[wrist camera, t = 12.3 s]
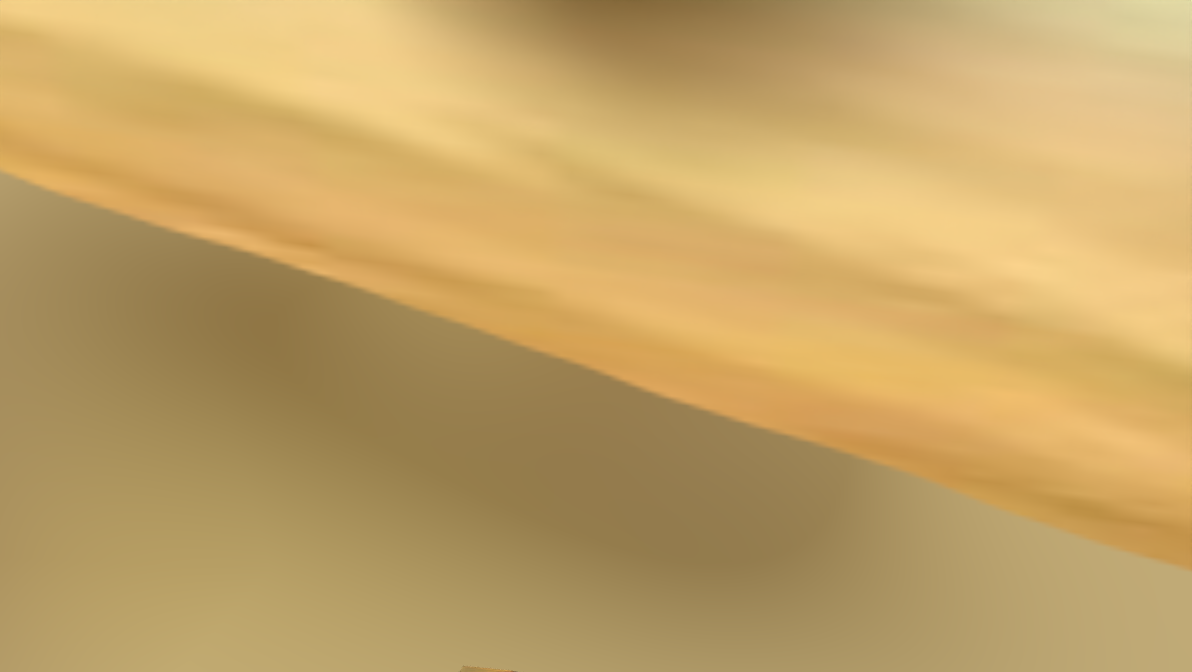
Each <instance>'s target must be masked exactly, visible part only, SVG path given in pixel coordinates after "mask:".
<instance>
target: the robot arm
mask: <svg viewBox="0 0 1192 672" xmlns="http://www.w3.org/2000/svg"><path fill="white" fill-rule="evenodd" d="M460 672H516V671H510V670H500V669H490V668H480V667H470V666H463V667H462V669H461V670H460Z"/></svg>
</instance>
